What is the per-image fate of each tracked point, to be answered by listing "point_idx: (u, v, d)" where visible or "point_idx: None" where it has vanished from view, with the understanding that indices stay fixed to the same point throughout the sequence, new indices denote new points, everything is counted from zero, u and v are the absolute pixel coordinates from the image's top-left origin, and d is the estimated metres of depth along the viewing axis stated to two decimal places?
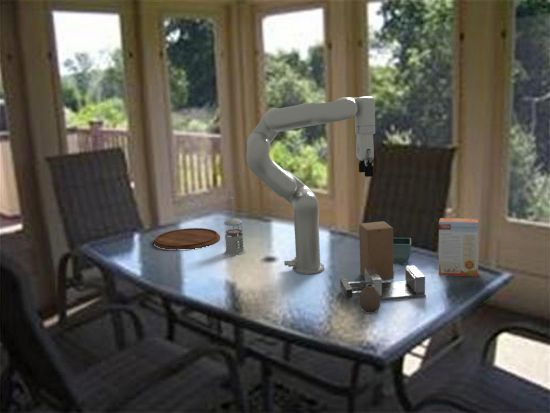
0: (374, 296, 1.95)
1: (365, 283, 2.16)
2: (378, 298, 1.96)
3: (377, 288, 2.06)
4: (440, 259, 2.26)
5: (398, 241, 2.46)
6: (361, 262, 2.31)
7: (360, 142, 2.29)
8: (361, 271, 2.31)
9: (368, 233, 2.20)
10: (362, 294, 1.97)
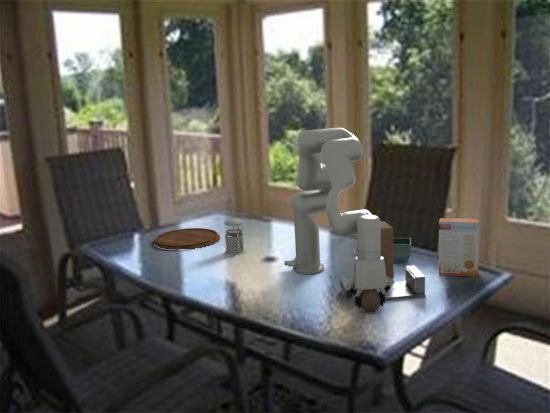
0: (374, 296, 1.95)
1: None
2: (378, 298, 1.96)
3: None
4: (440, 259, 2.26)
5: (398, 241, 2.46)
6: None
7: (381, 268, 1.93)
8: None
9: None
10: (362, 294, 1.97)
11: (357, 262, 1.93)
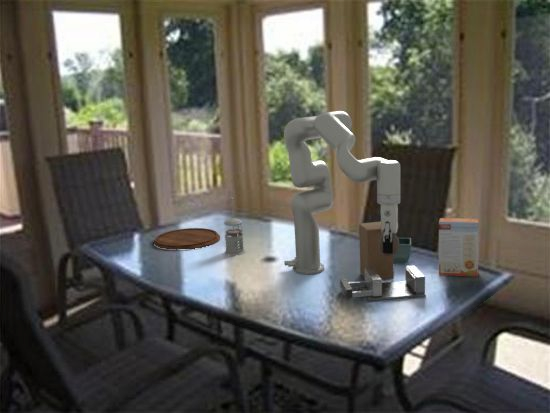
0: (397, 237, 2.04)
1: (365, 283, 2.16)
2: None
3: (377, 288, 2.06)
4: (440, 259, 2.26)
5: None
6: (361, 262, 2.31)
7: None
8: (361, 271, 2.31)
9: (368, 233, 2.20)
10: None
11: (393, 207, 1.97)
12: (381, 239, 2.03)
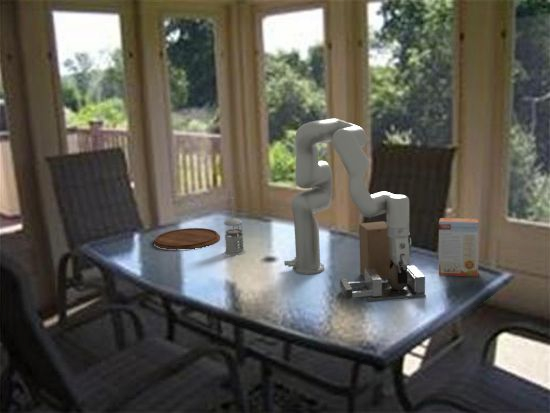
0: None
1: (365, 283, 2.16)
2: None
3: (377, 288, 2.06)
4: (440, 259, 2.26)
5: None
6: (361, 262, 2.31)
7: None
8: (361, 271, 2.31)
9: (368, 233, 2.20)
10: None
11: (407, 239, 2.05)
12: (392, 274, 2.10)
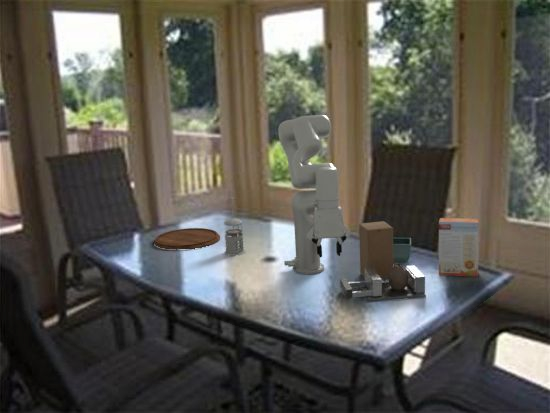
0: None
1: (365, 283, 2.16)
2: None
3: (377, 288, 2.06)
4: (440, 259, 2.26)
5: (398, 241, 2.46)
6: (361, 262, 2.31)
7: (339, 217, 2.03)
8: (361, 271, 2.31)
9: (368, 233, 2.20)
10: (402, 274, 2.09)
11: (316, 211, 2.02)
12: (393, 275, 2.10)
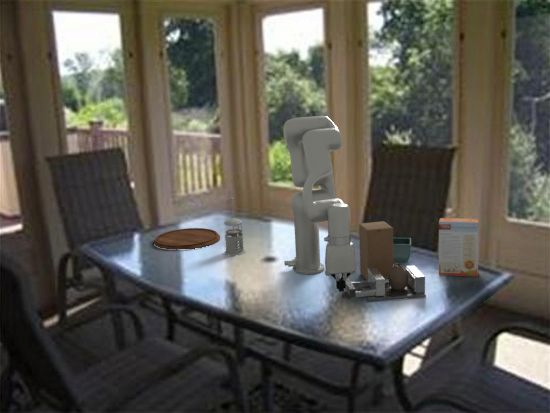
0: None
1: (368, 283, 2.16)
2: None
3: (380, 288, 2.06)
4: (440, 259, 2.26)
5: (398, 241, 2.46)
6: (361, 262, 2.31)
7: (350, 253, 2.06)
8: (361, 271, 2.31)
9: (368, 233, 2.20)
10: (402, 274, 2.09)
11: (328, 247, 2.06)
12: (393, 275, 2.10)
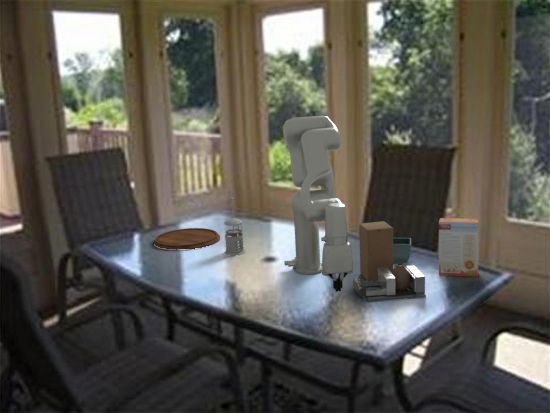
0: None
1: (378, 282, 2.16)
2: None
3: (391, 287, 2.06)
4: (440, 259, 2.26)
5: (398, 241, 2.46)
6: (361, 262, 2.31)
7: (347, 253, 2.06)
8: (361, 271, 2.31)
9: (368, 233, 2.20)
10: (404, 273, 2.09)
11: (325, 247, 2.06)
12: (395, 275, 2.10)
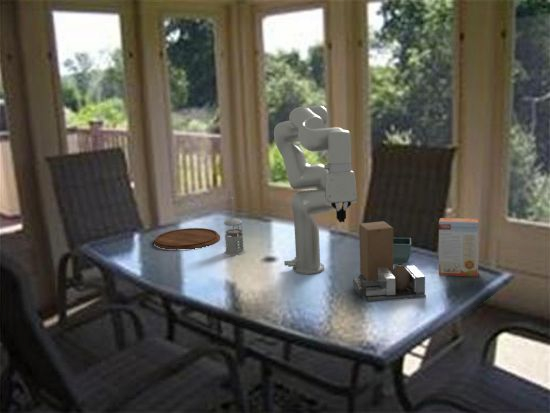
0: None
1: (378, 282, 2.16)
2: None
3: (391, 287, 2.06)
4: (440, 259, 2.26)
5: (398, 241, 2.46)
6: (361, 262, 2.31)
7: (351, 181, 2.00)
8: (361, 271, 2.31)
9: (368, 233, 2.20)
10: (404, 273, 2.09)
11: (328, 175, 2.00)
12: (395, 275, 2.10)
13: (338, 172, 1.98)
